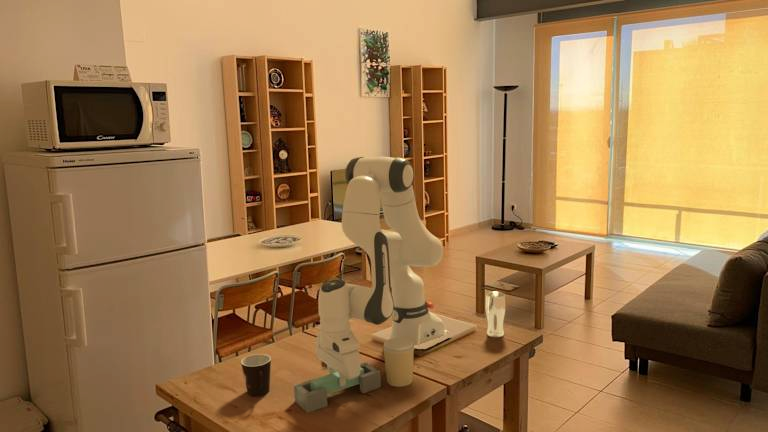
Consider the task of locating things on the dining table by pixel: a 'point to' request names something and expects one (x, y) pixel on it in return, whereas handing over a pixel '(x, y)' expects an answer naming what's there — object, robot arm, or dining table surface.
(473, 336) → the dining table surface
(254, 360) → the coffee mug
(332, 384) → the slat
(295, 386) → the cap
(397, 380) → the coffee cup
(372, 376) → the cap
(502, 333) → the beer glass
